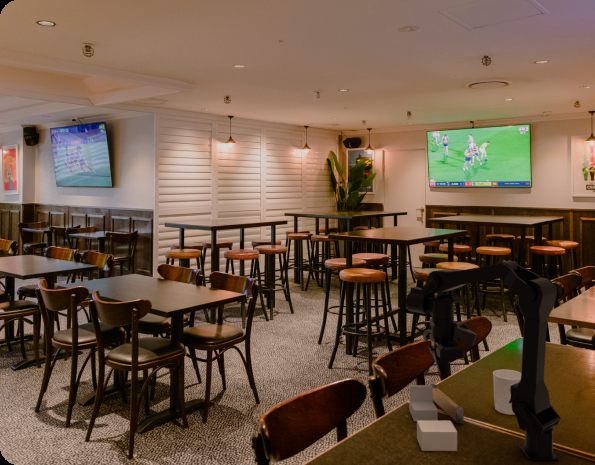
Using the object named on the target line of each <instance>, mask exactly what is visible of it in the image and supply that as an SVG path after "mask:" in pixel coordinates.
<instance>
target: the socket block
mask: <svg viewBox="0 0 595 465" xmlns="http://www.w3.org/2000/svg"><path fill="white" fill-rule="evenodd" d="M416 440H417V441H418V444H419V447H420V449H421V451H422V452H425V451H426V452H427V451H428V452H430V451H431V452H457V451H458V430H457V429H456V427H455V426H454V424H453V422H452V421H451V420H438V421H424V420H417V421H416Z"/></svg>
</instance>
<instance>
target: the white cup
mask: <svg viewBox="0 0 595 465" xmlns="http://www.w3.org/2000/svg"><path fill="white" fill-rule="evenodd" d="M492 377H493V378H492V380H493V381H492V382H493V399H494V408H495V411H497V412H498V413H501V414H504V415H510V416H512V415H513V416H514V415H515V413H513V411H512V406H511V405H512V403H509V401H510V398H511V393H510V387H511V386H512V385H514V384H516V383H518V382H520V380H521V371H517V370H513V369H503V368H502V369H496V370H493V371H492ZM515 416H516V415H515Z"/></svg>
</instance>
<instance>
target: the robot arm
mask: <svg viewBox="0 0 595 465" xmlns="http://www.w3.org/2000/svg"><path fill="white" fill-rule="evenodd" d="M493 280H501V281H502V282H503V283H504V284H505V286H506V287H507V289H509V291H510V292H512V293H513V294H514V295H516V296H517V301H518V307H519V310H520V312H521V315H522V316H523V334H522V350H521V351H522V354H521V369H520V373H521V380H520V382H518V383H516V384H514V385H512V386H511V387H510V393H511V398H510V401H509V403H512V405H511V406H512V411H513V413H515V417H516V421H517V424H518V426H519V429H520V430H522V431H524V444H523V443H520V444H518V447H519V449H520V450H521V451H522V452H523V454H524V455H525V457H526V458H528V459H529V460H530V461H559V460H560V457H559V456H558V455H557V454H556V453H555V452H554V450H553V448H554V428H555V427H556V426H559V425H560V422H561V420H562V418H561V416H560V415H559V413H558V412H557V410H556V409H555V408H554V406H553V405H552V404H551V400H550V392H549V390H548V387H547V385H546V383H545V377H544V376H545V364H546V363H545V362H546V349H547V348H546V344H547V329H548V319H549V317H550V314H551V313H552V311H553V309H554V306H555V303H556V299H557V295H558V294H557V293H558V290H557V289H558V287H557V286H556V284H554V283H553V282H552V281H551V280H550V279H549V278H545V277H541V276H540V275H539V274H537V273H536V272H533V271H531V270H529V269H527V268H525V267H522V266H521V265H520V264H518V263H517V262H515V261H513V260H505V261H499V262H497V263H494V264H489V265H482V266H478V267H471V268H467V269H460V268H446V269H445V268H444V269H438V270H432V271H430V272H429V273H428V275H427V280H426V282H425V283H424V285H423V286H422V287H418V286H414V287H413V286H412V287H410V288H409V289H410V292H409V293H408V294H407V296H406V298H405V300H404V301H405V308H406V309H407V311H410V312H414V313H419V314H425V315H429V314H431V317H430V318H429V324H431V329H426V330H425V331H424V332H423V333H422V335H423V336H422V339H423V341H424V342H427V343H428V342H429V341H430V342H431V345H428V348H429V351H430V354H431V355H432V358H433V360H434V363H435V364H436V367H437V370H438V372H439V375H440V376H442V377H444V376H446V373H447V371H448V368H449V364H450V361H451V359H455V360H456V359H457V360H459V359H460V360H462V359H465V357H466V351H465V349H464V348H463V347H462V346H461V345H460V344H458V343H459V342H462V343H465V344H468V345H469V346H474V344H475V341H476V338H477V337H478V334H477V333H476V332H475V331H473V330H471V329H469V328H468V325H467V324H466V323H465V322H464V323H463V322H461V321H460V322H458V323H457V322H456V321H455V303H459V302H461V301H462V300H463V299H462V298H461V297H460V296H459V295H458V294H457V293H456V292H455V291H454V292H449V291H453V290H455V289H458V288H461V287H463V286H465V285H468V284H475V283H480V282H481V283H482V282H487V281H493ZM444 292H449V293H448V294H447V293H444ZM436 294H438V295H436ZM428 340H429V341H428Z"/></svg>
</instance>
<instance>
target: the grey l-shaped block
mask: <svg viewBox="0 0 595 465" xmlns="http://www.w3.org/2000/svg"><path fill="white" fill-rule="evenodd" d="M408 400H409V404H408V405H409V407H408V408H409V413H410V415H411V417H412V419H413V422H417V420H424V421H439V419H438V416H439V415H438V413H439V412H438V411H439V410H438V409H437V406H436V405H435V402H434V401H433V387H432V385H430V384H429V385H427V384H418V385H417V384H411V385H410V384H409V398H408Z"/></svg>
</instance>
